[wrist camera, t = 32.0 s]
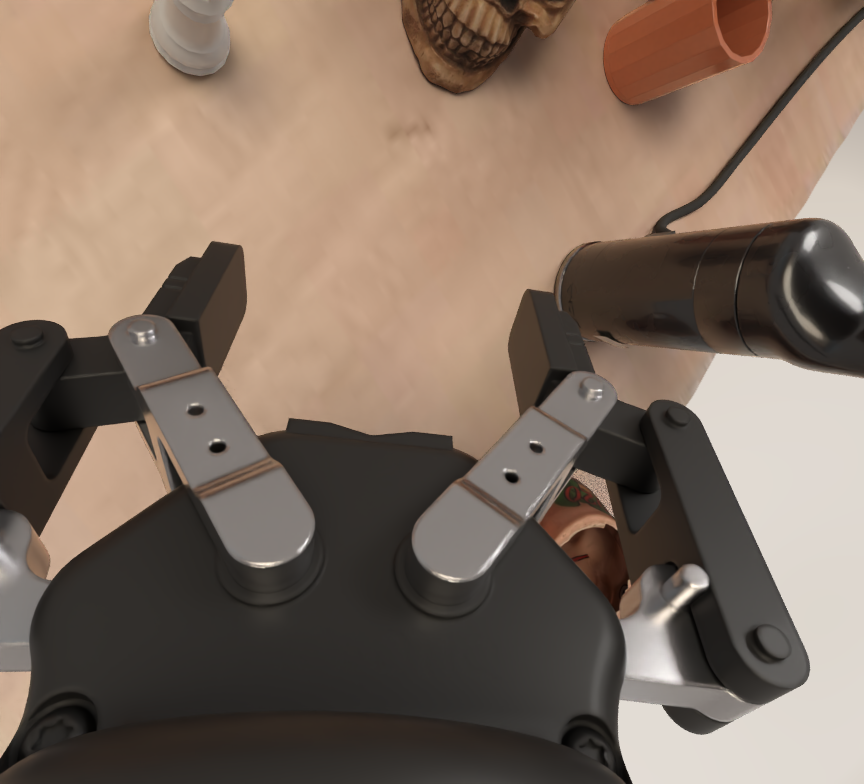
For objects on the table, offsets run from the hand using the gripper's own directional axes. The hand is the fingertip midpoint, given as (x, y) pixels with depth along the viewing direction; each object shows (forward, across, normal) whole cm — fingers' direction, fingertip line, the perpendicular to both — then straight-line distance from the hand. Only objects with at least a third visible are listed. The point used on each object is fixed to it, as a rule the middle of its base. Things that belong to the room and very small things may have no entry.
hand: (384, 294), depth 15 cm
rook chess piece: (+26, +13, 0) cm, 29 cm away
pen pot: (+44, -21, -1) cm, 48 cm away
